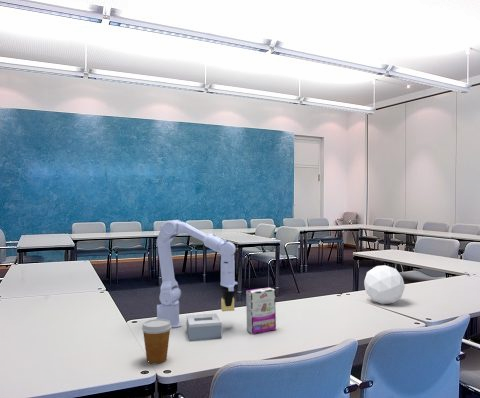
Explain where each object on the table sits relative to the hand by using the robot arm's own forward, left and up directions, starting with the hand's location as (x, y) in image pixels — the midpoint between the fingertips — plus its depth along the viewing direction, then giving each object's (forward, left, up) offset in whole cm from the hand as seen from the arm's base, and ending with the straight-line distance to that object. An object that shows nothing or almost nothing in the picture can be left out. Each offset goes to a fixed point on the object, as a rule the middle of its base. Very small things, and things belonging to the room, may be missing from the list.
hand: (227, 305), depth 157 cm
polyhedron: (+85, +21, -10) cm, 89 cm away
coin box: (-11, -5, -9) cm, 15 cm away
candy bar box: (+12, -6, -10) cm, 17 cm away
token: (0, 0, -2) cm, 2 cm away
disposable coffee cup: (-29, -26, -10) cm, 40 cm away
